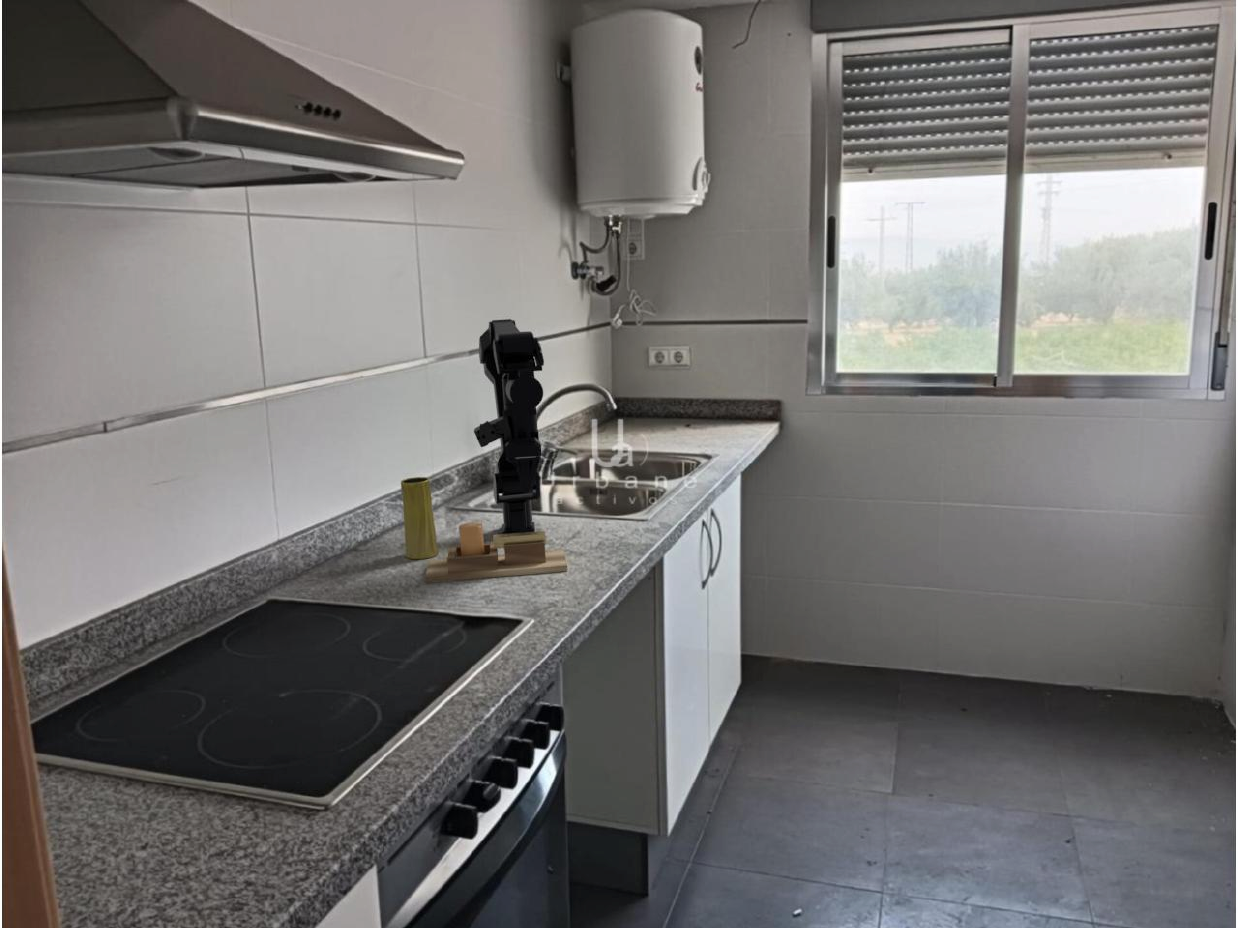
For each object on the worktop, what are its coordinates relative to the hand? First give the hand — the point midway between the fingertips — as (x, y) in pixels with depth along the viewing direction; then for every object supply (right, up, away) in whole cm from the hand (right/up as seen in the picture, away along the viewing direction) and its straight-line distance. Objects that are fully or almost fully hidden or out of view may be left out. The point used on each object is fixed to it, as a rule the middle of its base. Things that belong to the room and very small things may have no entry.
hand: (525, 487), depth 181 cm
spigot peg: (-8, -13, -8) cm, 18 cm away
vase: (-20, -13, +3) cm, 24 cm away
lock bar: (0, -10, -8) cm, 13 cm away
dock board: (-4, -14, -7) cm, 16 cm away
